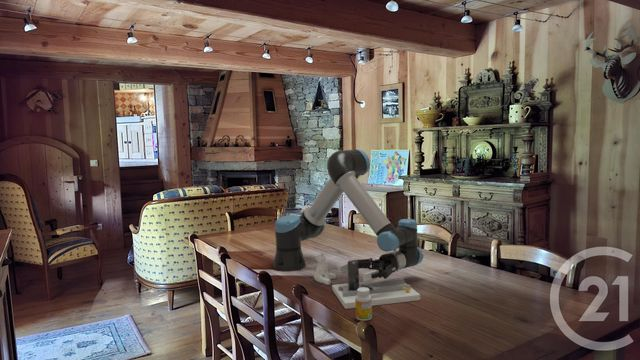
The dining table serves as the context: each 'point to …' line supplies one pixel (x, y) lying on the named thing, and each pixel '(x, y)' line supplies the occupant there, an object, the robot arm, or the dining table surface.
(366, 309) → the supplement bottle
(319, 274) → the white creature statuette
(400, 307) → the dining table surface
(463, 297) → the dining table surface
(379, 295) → the rail board
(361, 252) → the dining table surface
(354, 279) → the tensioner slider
